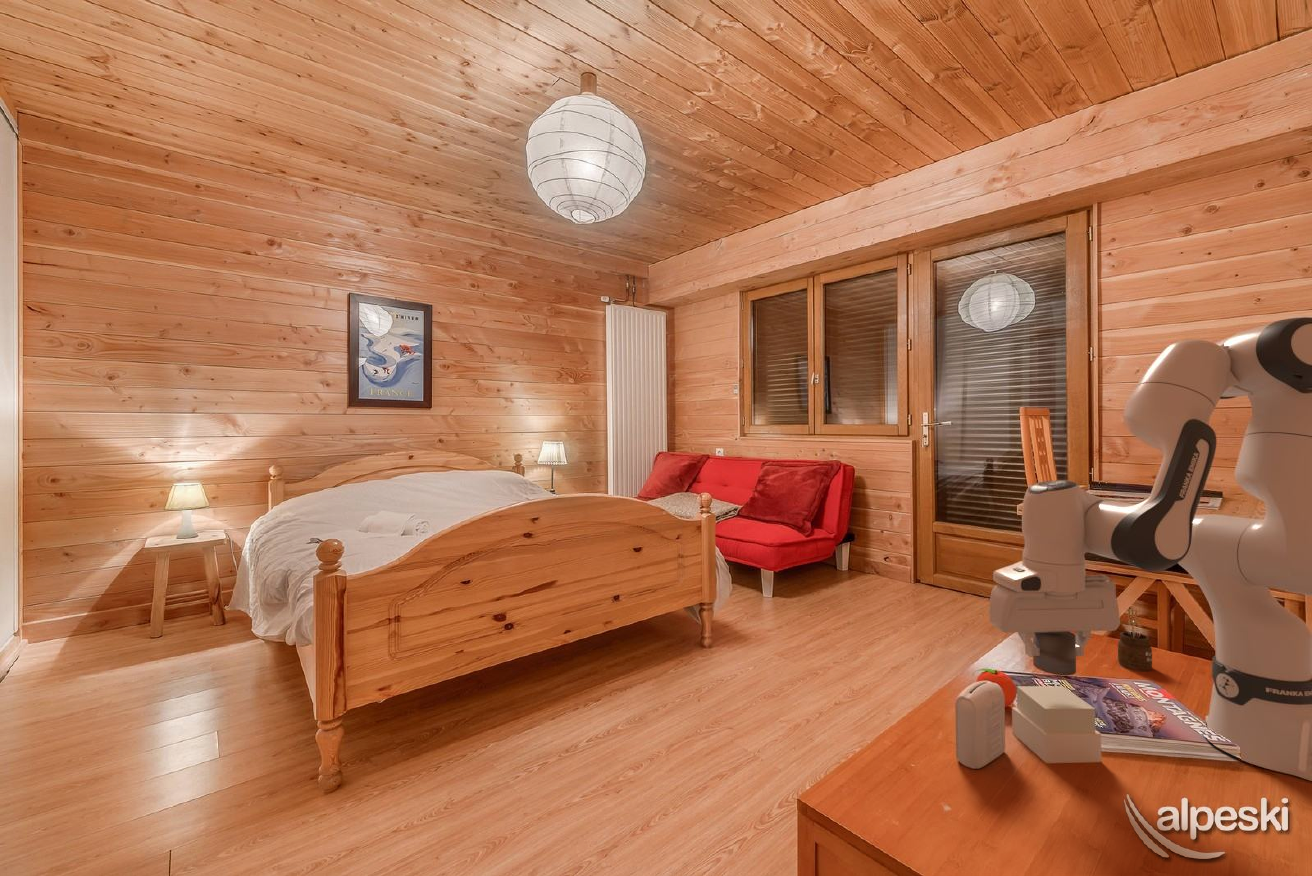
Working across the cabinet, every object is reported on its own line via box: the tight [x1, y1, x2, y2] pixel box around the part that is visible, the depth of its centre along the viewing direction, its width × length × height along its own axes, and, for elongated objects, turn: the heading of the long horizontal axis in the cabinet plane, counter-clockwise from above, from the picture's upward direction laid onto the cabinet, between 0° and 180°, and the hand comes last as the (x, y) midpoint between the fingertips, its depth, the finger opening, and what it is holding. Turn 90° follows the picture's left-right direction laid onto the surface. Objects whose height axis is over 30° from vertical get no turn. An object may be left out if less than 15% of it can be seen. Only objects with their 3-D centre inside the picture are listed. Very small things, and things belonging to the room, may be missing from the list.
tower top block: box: [1016, 685, 1096, 733], centre depth 97 cm, size 8×8×4 cm
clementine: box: [972, 668, 1017, 708], centre depth 112 cm, size 8×7×7 cm
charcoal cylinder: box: [1032, 631, 1077, 676], centre depth 96 cm, size 6×6×6 cm
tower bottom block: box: [1011, 706, 1102, 764], centre depth 97 cm, size 9×9×5 cm
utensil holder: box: [1117, 608, 1153, 672], centre depth 127 cm, size 6×6×12 cm
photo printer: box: [954, 681, 1006, 770], centre depth 95 cm, size 10×4×12 cm, turn 123°
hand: (1054, 655), depth 96 cm, fingers closed on charcoal cylinder, 6 cm apart
